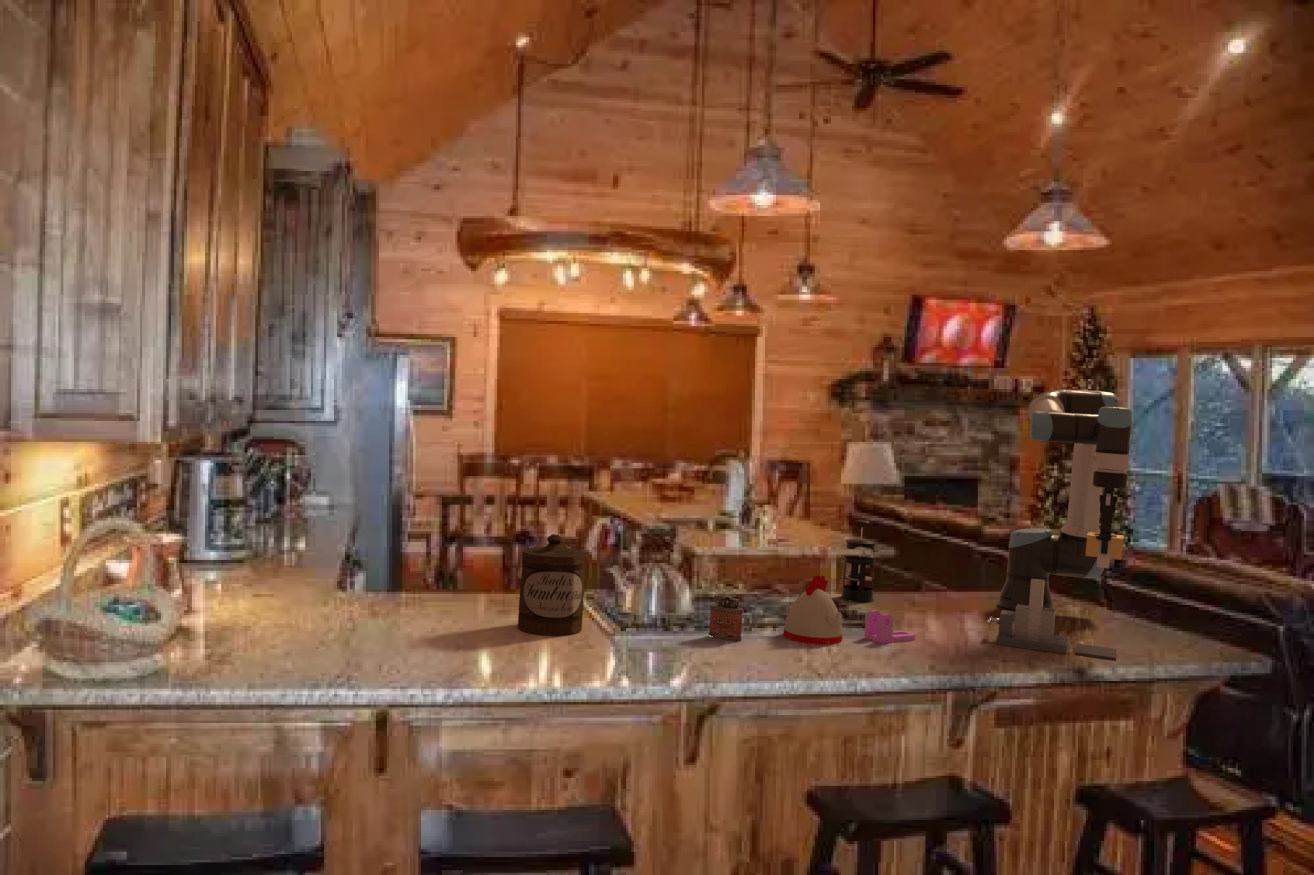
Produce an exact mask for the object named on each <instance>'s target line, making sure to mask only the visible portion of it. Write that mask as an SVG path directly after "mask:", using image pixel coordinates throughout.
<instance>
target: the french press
mask: <svg viewBox="0 0 1314 875" xmlns="http://www.w3.org/2000/svg"><path fill="white" fill-rule="evenodd" d="M855 522H856V523H860V530H861V531H860V539H859V538H853V539H845V542H846V549H849V550H854V549H856V548H859V555H845V556H844V557H843V558H844V559H843V572H842V586H841V594H840V598H841V599H842V600H844V599H845V600H844V601H848V600H851V601H850V602H853V601H854V603H871V602H874V588H875V573H876V560H877V559H875V558H873V557H868V556H862V548H866V549H869V550H871V551H875V550H876V545H877V544H878V543H877V542H876V541H874V540H873V541H872V540H868V539H863V530H864V527H865V524H871V522H870V521H868V520H863V519H858V520H855ZM847 564H850V566H851V567H850V574H846V566H847ZM867 566H872V577H871V576H867V575H866V573H867ZM846 580H847V581H850V582H849V584H846V585H845V581H846ZM866 582H867V583H868V582H869V583H870V582H871V587H869V586H866Z"/></svg>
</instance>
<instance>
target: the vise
mask: <svg viewBox="0 0 1314 875" xmlns="http://www.w3.org/2000/svg"><path fill="white" fill-rule="evenodd" d="M1044 583H1045V580H1040V579H1031V586H1030V599H1029V606H1027V605H1019V604H1017V606H1016V609H1015V610H1005V609H1002V610H1001V611H1000V614H999V618H996V617H993V616H989V618H988V619H987V621H986V624H987V625H991V624H992V625H993V624H994V625H998V634H997V636H996V645H999V646H1000V645H1001V646H1007V647H1014V648H1021V649H1028V650H1034V649H1036V651H1042V652H1050V653H1056V654H1063V655H1067V652H1068V648H1069V644H1070V643H1069V642H1070V636H1066V635H1057V634H1055V621H1056V612H1057V611H1056V608H1053V609H1050V608H1043V596H1044Z"/></svg>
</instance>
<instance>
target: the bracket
mask: <svg viewBox="0 0 1314 875" xmlns="http://www.w3.org/2000/svg"><path fill="white" fill-rule="evenodd" d="M865 615H866V616H865V626H864V635H863V636H864V637H865V638H864V639H866V640H869V641H872V642H876V643H878V644H887V643H898V642H911V641H916V636H917V633H916V632H913V631H909V630H894V617H893V616H892V615H891V614H888V613H880V611H879V610H875V609H870V610H868V612H867V613H866V614H865Z"/></svg>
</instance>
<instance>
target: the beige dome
mask: <svg viewBox="0 0 1314 875" xmlns="http://www.w3.org/2000/svg"><path fill="white" fill-rule="evenodd" d="M828 583H829V580H827V579H826V576H825V575H821V576H820V575H813V576H812V580H809V581H808V586H805V587H804V589H805V591H804V592H802V593H801V594H800V595H799V596H798V597H797V598H796V599H795V600H794V602H793V604H792V605H791V606H788V607H787V612H786V613H787V616H786V619H785V622H784V626H783V637H784V636H785V637H784V638H786V639H788V640H790V641H794V642H798V643H804V644H809V645H810V644H811V645H821V646H822V645H825V646H826V645H836V644H840V643H842V641H843V625H842V624H843V615H842V613H841V612H839V611H838V608H837V606H836V604H835V602H834V601H833V599H832V598H831V596H830V595H829V594H828V593H826V589H827V586H828Z"/></svg>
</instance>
